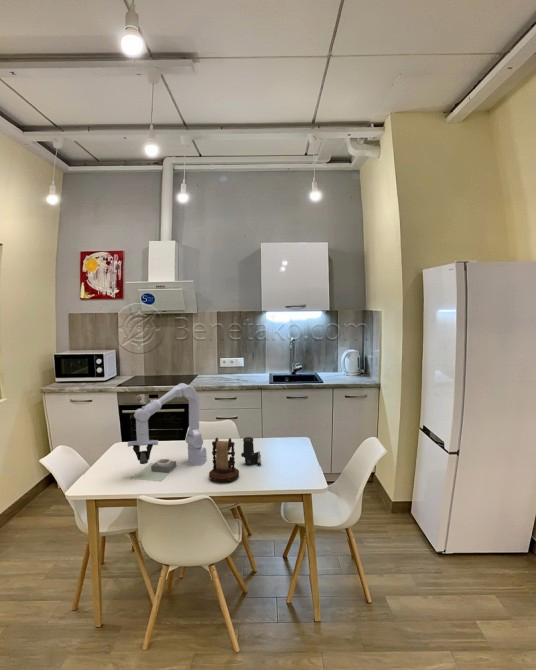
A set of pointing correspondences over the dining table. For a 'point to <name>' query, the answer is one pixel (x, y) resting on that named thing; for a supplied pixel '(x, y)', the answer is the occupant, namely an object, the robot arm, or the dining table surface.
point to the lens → (143, 457)
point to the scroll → (223, 461)
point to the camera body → (163, 466)
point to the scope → (250, 452)
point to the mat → (151, 474)
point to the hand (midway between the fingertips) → (143, 459)
